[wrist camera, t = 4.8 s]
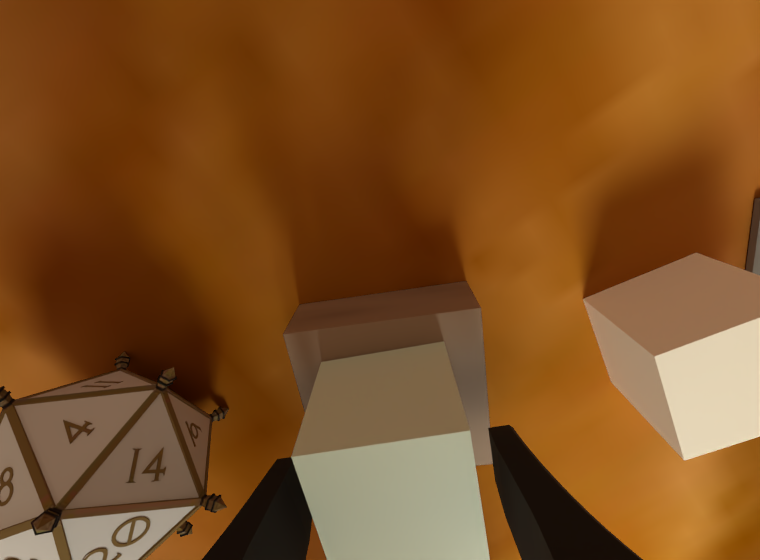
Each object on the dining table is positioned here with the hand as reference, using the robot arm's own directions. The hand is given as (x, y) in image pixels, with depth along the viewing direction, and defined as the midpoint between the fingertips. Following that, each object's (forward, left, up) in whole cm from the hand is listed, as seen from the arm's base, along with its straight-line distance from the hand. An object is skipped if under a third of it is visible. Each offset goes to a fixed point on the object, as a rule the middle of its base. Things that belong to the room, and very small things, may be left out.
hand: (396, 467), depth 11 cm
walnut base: (0, 0, -6) cm, 6 cm away
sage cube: (0, 0, -3) cm, 3 cm away
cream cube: (0, -11, -6) cm, 12 cm away
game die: (0, +11, -6) cm, 12 cm away
